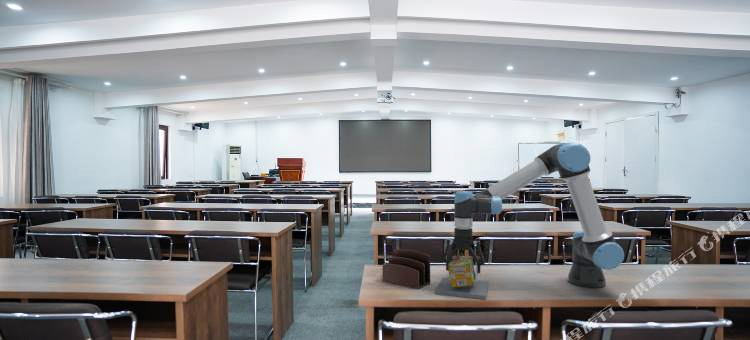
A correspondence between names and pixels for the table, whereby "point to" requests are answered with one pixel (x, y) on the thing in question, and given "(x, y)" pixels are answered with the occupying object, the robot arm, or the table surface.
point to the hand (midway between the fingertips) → (463, 279)
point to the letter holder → (408, 269)
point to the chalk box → (461, 272)
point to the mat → (463, 289)
